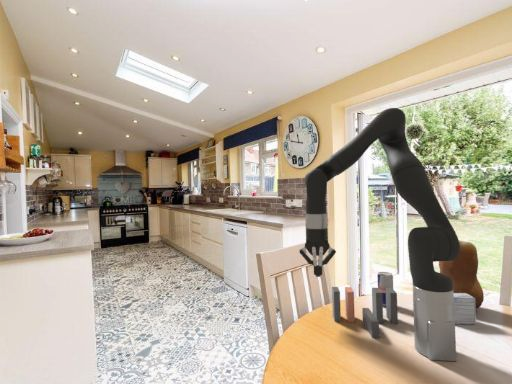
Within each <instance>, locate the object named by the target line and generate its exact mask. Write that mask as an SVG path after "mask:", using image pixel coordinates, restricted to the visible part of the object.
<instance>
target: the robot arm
mask: <svg viewBox="0 0 512 384" xmlns="http://www.w3.org/2000/svg"><path fill="white" fill-rule="evenodd" d="M406 118H407V117H406V114H405V113H404V110H402V109H400V108H396V107H390V108H389V107H388V108H385V109H384V110H382V111H380V113H379V114H377V115H376V116H375V117H374V118H373V119H372V121H370V122H369V123H368V124H367V125H366V126H365V127H364V128H363V129H362V130H361V131H360V132H359V133H357V135H356V136H355V137H353V138H352V139H351V140H350V141H349V142H348V143H347V144H345V145H344V146H342V147H341V148H340V149H338V150H337V151H336V152H334V153H333V154H331V155H330V156H329V157H327V159H326V160H324V161H323V162H322V163H320V164H319V165H317V166H316V167H314V168H312V169H310V170H309V171H308V172H307V173H306V174H305V175H304V179H303V180H304V184H305V186H306V200H305V243H304V246H303V247H302V248H299V251H298V252H299V254H300V255H301V256H302V257H303V258H304V260H305V261H306V262H307V264H308V265H312V266H313V275H314V276H315V278H316V277H317V278H321V276H322V275H323V266H324V265H327V264H328V263H329V262H330V261H331V259H332V258H333V257H334V256H335V254H336V253H337V250H336V249H335V248H333V247H331V245H330V243H329V232H328V231H329V230H328V229H329V227H328V226H329V223H328V216H327V190H328V189H327V188H328V187H327V186H328V182H329V181H331V180H332V179H334V178H335V177H337V176H339V175H341V174H343V172H346V171H347V170H348V169H349V168H351V167H353V165H355V164H356V163H357V162H358V161H359V160H360V159H361V157H362V156H364V154H365V152H366V151H367V150H368V149H369V148H370V147H371V146H372V144H374V143H375V142H376V141H377V140H378V141H379V143H380V145H381V147H382V149H383V152H384V153H385V155H386V159H387V164H388V167H389V171H390V175H391V179H392V181H393V184H394V188H395V189H396V192H397V193H398V195H399V197H400V198H402V199H403V200H404V201H405V202H406V203H407V204H408V205H410V207H412V208H413V209H414V210H415V211H417V212H418V214H419V215H420V216H421V218H422V219H423V220H424V223H425V224H426V226H420V227H419V226H418V227H414V228H412V229H411V230H410V231H409V233H408V236H407V250H408V261H409V271H410V275H411V278H412V279H411V280H412V300H413V301H412V302H413V304H412V307H413V333H414V334H413V336H414V348H415V350H416V351H417V352H418V353H419V354H421V355H424V356H425V357H427V358H428V359H429V360H430V361H431V360H432V361H448V362H457V343H456V341H457V340H456V338H457V337H456V324H454V298H453V281H452V279H451V278H450V277H449V276H447V275H444V274H442V273H440V272H437V271H436V270H435V266H434V262H435V263H436V262H439V261H452V260H455V259H457V258H458V256H459V254H460V243H459V240H460V239H459V238H458V237H459V236H458V235H457V233H456V231H455V229H454V227H453V225H452V224H451V222H450V220H449V218H448V217H447V215H446V213H445V211H444V209H443V208H442V206H441V203H440V202H439V199H438V197H437V196H436V193H435V191H434V189H433V186H432V184H431V181H430V179H429V176H428V174H427V171H426V169H425V167H424V165H423V164H422V162H421V160H420V159H419V158H418V157H417V156H416V155H415V154H414V153H413V151H411V148H410V147H409V143H408V140H407V135H406V123H407V122H406V121H407V119H406ZM307 253H308V254H309V255H311V257H312V259H311V258H310V257H309V255H307ZM326 253H328V254H327V255H326ZM325 255H326V256H325ZM323 256H325V257H323ZM317 257H318V259H317ZM323 258H324V259H323Z"/></svg>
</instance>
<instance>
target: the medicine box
mask: <svg viewBox="0 0 512 384" xmlns="http://www.w3.org/2000/svg"><path fill="white" fill-rule="evenodd" d="M453 298H454V324H455V325H476V324H477V320H476V319H477V318H476V312H477V311H476V310H477V309H475V298H474V297H472V296H470V295H469V294H467V293H453Z"/></svg>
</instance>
